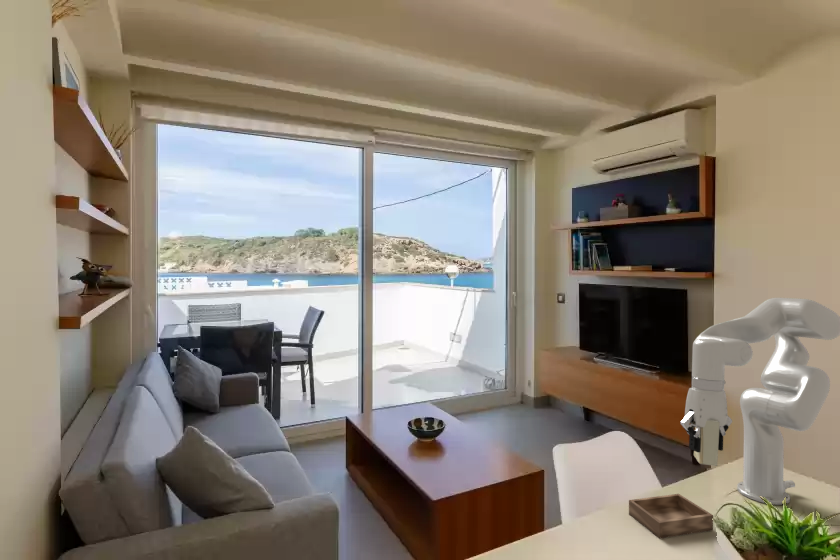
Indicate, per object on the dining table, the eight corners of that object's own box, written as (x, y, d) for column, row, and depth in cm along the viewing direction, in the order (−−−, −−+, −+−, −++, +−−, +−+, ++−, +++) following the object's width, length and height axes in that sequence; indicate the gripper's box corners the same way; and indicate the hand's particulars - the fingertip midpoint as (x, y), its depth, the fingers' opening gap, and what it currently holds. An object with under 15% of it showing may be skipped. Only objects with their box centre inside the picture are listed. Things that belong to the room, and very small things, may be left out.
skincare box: (693, 455, 128) (694, 412, 128) (711, 458, 127) (712, 414, 127) (699, 464, 122) (701, 419, 122) (718, 466, 121) (720, 421, 121)
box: (678, 507, 129) (678, 493, 129) (713, 530, 118) (713, 515, 117) (628, 514, 125) (628, 500, 125) (659, 538, 114) (659, 522, 114)
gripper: (722, 380, 130) (720, 442, 130) (670, 382, 126) (668, 446, 127) (746, 386, 123) (744, 452, 123) (691, 389, 119) (690, 457, 119)
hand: (705, 449), depth 125 cm, fingers closed on skincare box, 6 cm apart
